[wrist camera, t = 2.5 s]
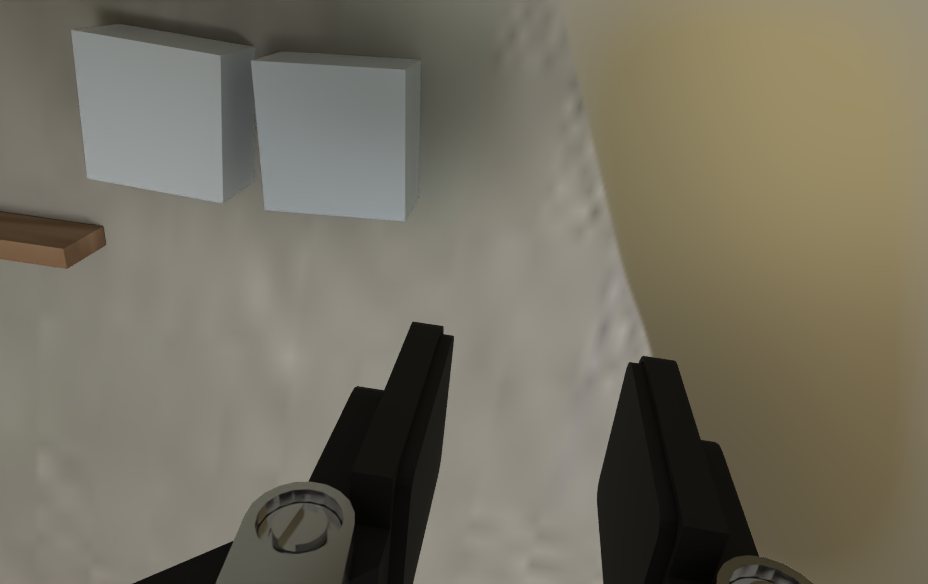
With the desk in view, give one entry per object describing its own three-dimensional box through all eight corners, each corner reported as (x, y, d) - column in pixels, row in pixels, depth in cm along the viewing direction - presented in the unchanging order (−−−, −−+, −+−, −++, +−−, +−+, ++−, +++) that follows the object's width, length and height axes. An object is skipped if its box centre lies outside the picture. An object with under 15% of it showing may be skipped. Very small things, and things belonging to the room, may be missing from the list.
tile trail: (284, 50, 29) (250, 60, 26) (421, 58, 28) (405, 69, 25) (293, 186, 31) (265, 210, 28) (420, 195, 31) (404, 221, 28)
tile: (123, 23, 29) (70, 29, 26) (256, 46, 29) (220, 55, 26) (133, 157, 32) (87, 178, 29) (256, 180, 31) (222, 203, 28)
